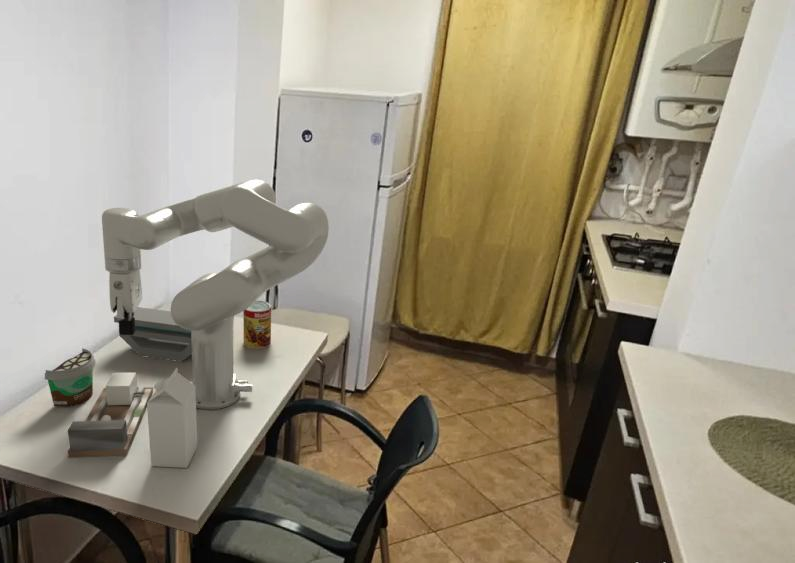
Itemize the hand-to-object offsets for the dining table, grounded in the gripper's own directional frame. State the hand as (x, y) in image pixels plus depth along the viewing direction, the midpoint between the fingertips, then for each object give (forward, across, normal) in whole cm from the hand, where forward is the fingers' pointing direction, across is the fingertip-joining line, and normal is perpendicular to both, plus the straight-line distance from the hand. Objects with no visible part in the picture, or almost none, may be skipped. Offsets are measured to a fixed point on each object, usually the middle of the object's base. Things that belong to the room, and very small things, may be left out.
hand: (127, 333), depth 135 cm
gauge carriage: (+12, -9, -2) cm, 15 cm away
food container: (+14, -7, +9) cm, 18 cm away
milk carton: (+13, -30, -16) cm, 36 cm away
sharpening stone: (+14, +16, -6) cm, 22 cm away
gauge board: (+14, -17, -1) cm, 22 cm away
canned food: (+14, +22, -30) cm, 40 cm away
